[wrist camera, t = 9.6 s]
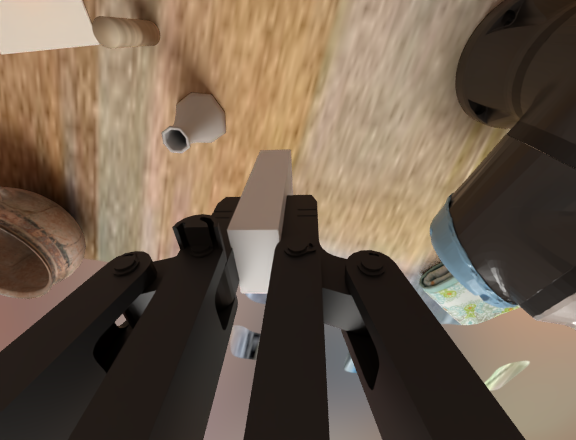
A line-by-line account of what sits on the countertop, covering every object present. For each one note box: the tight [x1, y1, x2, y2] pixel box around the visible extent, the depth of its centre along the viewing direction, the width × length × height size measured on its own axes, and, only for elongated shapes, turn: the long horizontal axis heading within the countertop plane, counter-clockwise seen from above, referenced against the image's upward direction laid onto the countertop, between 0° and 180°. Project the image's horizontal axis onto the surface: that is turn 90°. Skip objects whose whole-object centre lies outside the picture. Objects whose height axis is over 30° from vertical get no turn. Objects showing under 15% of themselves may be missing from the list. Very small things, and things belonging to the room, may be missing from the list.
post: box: [92, 16, 160, 49], centre depth 30 cm, size 3×3×9 cm
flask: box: [162, 93, 226, 153], centre depth 36 cm, size 7×7×10 cm
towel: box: [419, 262, 520, 325], centre depth 52 cm, size 18×21×5 cm
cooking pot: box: [0, 186, 86, 299], centre depth 47 cm, size 25×19×12 cm
